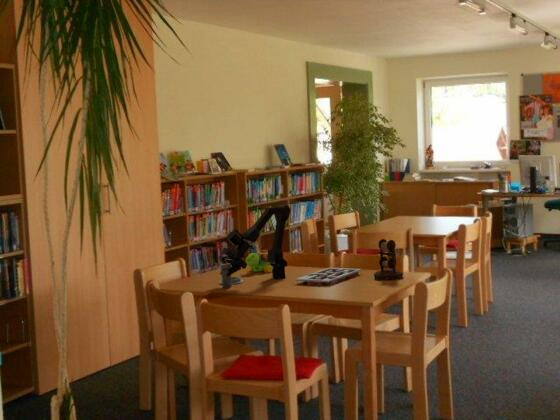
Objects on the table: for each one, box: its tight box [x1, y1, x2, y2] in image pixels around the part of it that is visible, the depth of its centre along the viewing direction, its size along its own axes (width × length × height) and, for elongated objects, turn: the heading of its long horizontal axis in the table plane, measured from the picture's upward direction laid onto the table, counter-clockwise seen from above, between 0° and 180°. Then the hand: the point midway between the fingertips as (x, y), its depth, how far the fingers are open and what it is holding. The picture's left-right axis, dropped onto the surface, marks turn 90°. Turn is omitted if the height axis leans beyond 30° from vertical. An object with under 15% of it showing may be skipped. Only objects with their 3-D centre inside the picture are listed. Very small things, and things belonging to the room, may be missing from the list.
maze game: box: [294, 267, 362, 286], centre depth 412 cm, size 35×20×3 cm, turn 146°
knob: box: [220, 263, 233, 289], centre depth 405 cm, size 5×5×12 cm
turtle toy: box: [245, 249, 273, 274], centre depth 451 cm, size 17×23×12 cm
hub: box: [218, 276, 244, 285], centre depth 420 cm, size 13×13×2 cm
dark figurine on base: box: [373, 238, 404, 281], centre depth 404 cm, size 15×15×20 cm
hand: (224, 275), depth 405 cm, fingers open, 6 cm apart
